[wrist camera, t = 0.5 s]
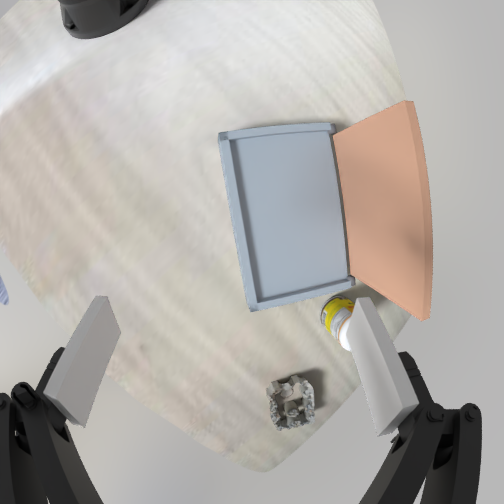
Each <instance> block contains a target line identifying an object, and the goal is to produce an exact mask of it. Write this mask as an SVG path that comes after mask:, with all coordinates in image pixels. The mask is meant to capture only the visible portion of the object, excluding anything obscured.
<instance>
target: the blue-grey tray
mask: <svg viewBox="0 0 504 504" xmlns="http://www.w3.org/2000/svg"><path fill="white" fill-rule="evenodd" d="M336 133H337V132H336V127H335V124H330V122H326V123H304V124H290V125H278V126H267V127H258V128H250V129H242V130H234V131H227V132H221V133H219V136H218V144H219V150H220V156H221V162H222V168H223V173H224V179H225V185H226V191H227V197H228V202H229V208H230V214H231V220H232V225H233V231H234V236H235V242H236V247H237V253H238V258H239V264H240V269H241V275H242V280H243V285H244V291H245V296H246V301H247V304H248V307H249V309H250V312H254V311H259V310H263V309H268V308H272V307H277V306H281V305H285V304H290V303H294V302H298V301H302V300H306V299H310V298H314V297H318V296H322V295H326V294H330V293H334V292H337V291H341V290H345V289H349V288H351V286H354V285H355V277H354V276H352V275H348V276H347V262H346V250H345V240H344V230H343V221H342V213H341V205H340V198H339V190H338V184H337V177H336V171H335V165H334V159H333V153H332V148H331V142H330V137H329V134H336Z"/></svg>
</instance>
